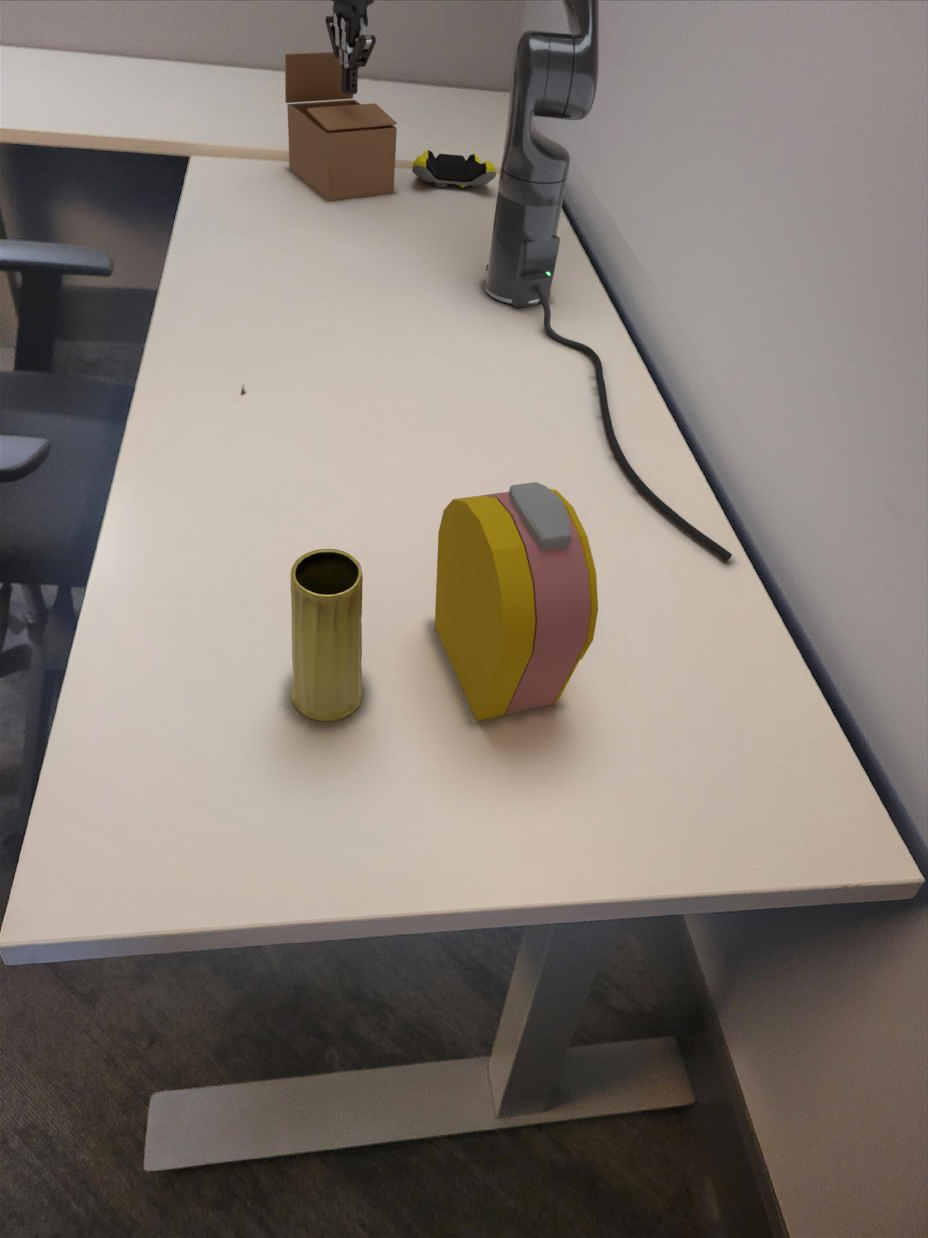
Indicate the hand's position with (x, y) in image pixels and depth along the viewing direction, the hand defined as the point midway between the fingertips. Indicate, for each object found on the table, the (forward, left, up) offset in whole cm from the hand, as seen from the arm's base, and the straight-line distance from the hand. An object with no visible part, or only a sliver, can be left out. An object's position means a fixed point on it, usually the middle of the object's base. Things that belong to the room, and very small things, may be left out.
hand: (349, 92), depth 140 cm
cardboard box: (+2, 0, -15) cm, 15 cm away
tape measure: (-105, +40, -15) cm, 113 cm away
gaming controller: (-5, -19, -15) cm, 24 cm away
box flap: (-1, 0, -3) cm, 4 cm away
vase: (-101, +55, -15) cm, 116 cm away
